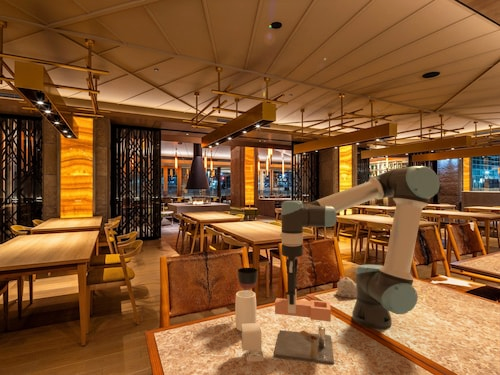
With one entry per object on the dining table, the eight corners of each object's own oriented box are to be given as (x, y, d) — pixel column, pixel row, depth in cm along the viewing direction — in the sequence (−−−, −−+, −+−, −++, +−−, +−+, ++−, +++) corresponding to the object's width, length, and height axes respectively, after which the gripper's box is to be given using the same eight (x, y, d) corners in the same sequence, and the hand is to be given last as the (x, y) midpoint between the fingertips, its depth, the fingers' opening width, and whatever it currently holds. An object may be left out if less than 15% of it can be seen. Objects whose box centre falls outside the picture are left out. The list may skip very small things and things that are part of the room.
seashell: (366, 299, 140) (366, 279, 140) (338, 299, 141) (338, 279, 141) (358, 290, 152) (358, 272, 152) (332, 290, 153) (332, 272, 153)
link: (329, 312, 99) (329, 301, 99) (330, 321, 93) (330, 309, 93) (276, 307, 104) (276, 296, 104) (274, 315, 97) (274, 304, 97)
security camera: (241, 352, 95) (241, 322, 95) (261, 351, 96) (261, 321, 96) (242, 363, 89) (242, 332, 89) (264, 362, 90) (264, 331, 90)
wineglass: (256, 320, 118) (255, 273, 118) (236, 318, 120) (235, 272, 120) (259, 312, 126) (258, 268, 126) (240, 310, 127) (240, 267, 127)
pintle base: (330, 338, 103) (330, 318, 103) (334, 367, 87) (334, 343, 87) (279, 333, 108) (279, 313, 108) (273, 359, 91) (273, 336, 91)
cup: (259, 326, 113) (259, 291, 113) (252, 336, 105) (252, 299, 105) (239, 323, 116) (239, 289, 116) (231, 333, 108) (231, 296, 108)
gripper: (283, 239, 108) (284, 299, 108) (278, 248, 92) (278, 319, 92) (303, 240, 107) (303, 301, 107) (301, 249, 90) (302, 322, 90)
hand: (292, 309), depth 99 cm, fingers closed on link, 4 cm apart
